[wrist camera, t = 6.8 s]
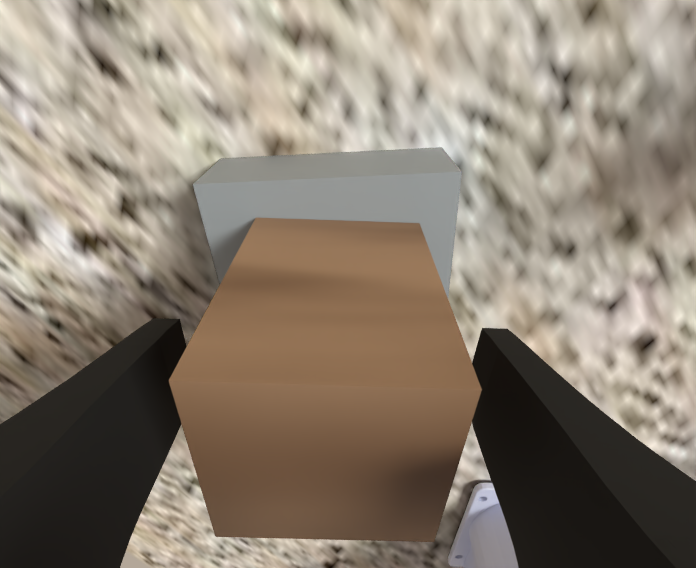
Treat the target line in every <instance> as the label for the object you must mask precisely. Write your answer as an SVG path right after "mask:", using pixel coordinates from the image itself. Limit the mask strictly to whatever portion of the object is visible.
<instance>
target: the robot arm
mask: <svg viewBox="0 0 696 568" xmlns="http://www.w3.org/2000/svg"><path fill="white" fill-rule="evenodd" d="M185 349H186V343H185V339H184V335H183V331H182V327H181V323H180V319H155V318H154V319H152V320H151V321H149V322H148V323H146V324H145V325H143V326H142V327H140V328H139V329H137V330H136V331H135V332H133V333H132V334H131V335H129V336H128V337H126V338H125V339H124V340H122V341H121V342H120V343H118V344H117V345H115V346H114V347H113V348H111V349H110V350H109V351H107V352H106V353H105V354H103V355H102V356H100V357H99V358H98V359H96V360H95V361H93V362H92V363H91V364H89V365H88V366H86V367H85V368H84V369H82V370H81V371H79V372H78V373H77V374H75V375H74V376H73V377H71V378H70V379H68V380H67V381H65V382H64V383H62V384H61V385H59V386H58V387H56V388H55V389H53V390H52V391H50V392H49V393H47V394H46V395H44V396H43V397H41V398H40V399H38V400H37V401H35V402H34V403H32V404H31V405H29V406H28V407H26V408H25V409H23V410H22V411H20V412H19V413H17V414H16V415H14V416H13V417H11V418H10V419H8V420H6V421H5V422H3V423H2V424H0V568H120V566H121V563H122V560H123V557H124V554H125V552H126V549H127V546H128V543H129V540H130V538H131V535H132V533H133V530H134V528H135V525H136V523H137V521H138V518H139V516H140V514H141V511H142V509H143V507H144V505H145V503H146V500H147V498H148V496H149V494H150V492H151V490H152V487H153V485H154V483H155V481H156V479H157V477H158V474H159V472H160V470H161V468H162V466H163V463H164V461H165V459H166V457H167V455H168V453H169V450H170V448H171V446H172V444H173V441H174V439H175V437H176V435H177V433H178V430H179V428H180V426H181V420H180V417H179V414H178V410H177V407H176V404H175V400H174V397H173V394H172V390H171V387H170V384H169V379H170V377H171V375H172V373H173V371H174V370H175V368H176V366H177V364H178V362H179V360H180V358H181V357H182V355H183V353H184V351H185ZM472 365H473V367H474V370H475V373H476V376H477V378H478V381H479V384H480V386H481V389H482V391H481V394H480V397H479V400H478V403H477V407H476V410H475V413H474V416H473V419H472V424H473V428H474V431H475V434H476V437H477V440H478V443H479V446H480V449H481V452H482V455H483V458H484V461H485V463H486V466H487V469H488V472H489V475H490V478H491V481H492V483H479V484H477V485H476V486H475V487H474V489H473V492H472V494H471V497H470V500H469V502H468V505H467V508H466V511H465V513H464V516H463V519H462V521H461V524H460V527H459V529H458V532H457V535H456V537H455V540H454V543H453V545H452V548H451V551H450V553H449V556H448V562H449V565H450V566H453V567H464V568H696V481H695V480H693V479H692V478H690V477H689V476H688V475H686V474H685V473H683V472H682V471H680V470H679V469H678V468H676V467H675V466H673V465H672V464H671V463H669V462H668V461H666V460H665V459H664V458H662V457H661V456H659V455H658V454H656V453H655V452H654V451H652V450H651V449H650V448H648V447H647V446H646V445H644V444H643V443H642V442H640V441H639V440H638V439H636V438H635V437H634V436H632V435H631V434H630V433H629V432H627V431H626V430H625V429H624V428H622V427H621V426H620V425H619V424H617V423H616V422H615V421H614V420H612V419H611V418H610V417H609V416H607V415H606V414H605V413H603V412H602V411H601V410H600V409H599V408H597V407H596V406H595V405H594V404H593V403H591V402H590V401H589V400H588V399H587V398H585V397H584V396H583V395H582V394H581V393H580V392H578V391H577V390H576V389H575V388H574V387H573V386H572V385H570V384H569V383H568V382H567V381H566V380H565V379H564V378H562V377H561V376H560V375H559V374H558V373H557V372H556V371H554V370H553V369H552V368H551V367H550V366H549V365H548V364H547V363H546V362H544V361H543V360H542V359H541V358H540V357H539V356H538V355H537V354H536V353H534V352H533V351H532V350H531V349H530V348H529V347H528V346H527V345H526V344H524V343H523V342H522V341H521V340H520V339H519V338H518V337H517V336H515V335H514V334H513V333H512V332H511V331H509V330H508V329H494V328H482V330H481V334H480V337H479V341H478V345H477V348H476V352H475V355H474V359H473V362H472Z"/></svg>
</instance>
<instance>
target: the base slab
mask: <svg viewBox="0 0 696 568" xmlns="http://www.w3.org/2000/svg"><path fill="white" fill-rule="evenodd" d="M461 174H462V171H461V170H460V169H459V168H458V166H457V165H456V164H455V163H454V162H453V160H452V159H451V158H450V157H449V156H448V154H447V153H446V152H445V151H444V150H443V148H442V147H440V148H420V149H400V150H380V151H360V152H341V153H321V154H301V155H281V156H261V157H241V158H222V159H220V160H219V161H217V162H216V163H215V164H214V165H213V166H212V167H211V168H210V169H209V170H208V171H207V172H206V173H204V174H203V175H202V176H201V177H200V178H199V179H198V180H197V181H196V182H195V183H194V184H193V187H194V191H195V195H196V199H197V202H198V206H199V210H200V213H201V217H202V221H203V225H204V228H205V232H206V236H207V239H208V243H209V247H210V250H211V254H212V258H213V262H214V265H215V269H216V273H217V276H218V280H219V284H221V282H222V280H223V278H224V276H225V274H226V272H227V271H228V269H229V267H230V265H231V263H232V261H233V259H234V258H235V256H236V254H237V252H238V250H239V248H240V246H241V244H242V243H243V241H244V239H245V237H246V235H247V233H248V231H249V229H250V228H251V226H252V224H253V222H254V220H255V218H284V219H314V220H343V221H372V222H402V223H420V226H421V228H422V231H423V234H424V236H425V239H426V242H427V244H428V247H429V250H430V253H431V255H432V258H433V261H434V263H435V266H436V269H437V271H438V274H439V277H440V279H441V282H442V285H443V287H444V290H445V293H446V295H447V298H448V294H449V285H450V276H451V267H452V257H453V248H454V239H455V230H456V220H457V211H458V202H459V193H460V183H461Z"/></svg>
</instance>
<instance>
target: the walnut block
mask: <svg viewBox="0 0 696 568" xmlns="http://www.w3.org/2000/svg"><path fill="white" fill-rule="evenodd" d="M169 384H170V387H171V390H172V394H173V397H174V400H175V404H176V407H177V410H178V414H179V417H180V420H181V424H182V427H183V430H184V434H185V437H186V440H187V444H188V447H189V450H190V453H191V457H192V460H193V463H194V467H195V470H196V473H197V477H198V480H199V483H200V487H201V490H202V493H203V497H204V500H205V503H206V507H207V510H208V513H209V516H210V520H211V523H212V526H213V530H214V533H215V536H216V537H251V538H293V539H335V540H377V541H419V542H434V541H435V538H436V534H437V531H438V528H439V525H440V522H441V518H442V515H443V512H444V509H445V506H446V502H447V499H448V496H449V493H450V490H451V487H452V483H453V480H454V477H455V474H456V471H457V467H458V464H459V461H460V458H461V455H462V451H463V448H464V445H465V442H466V439H467V435H468V432H469V429H470V426H471V423H472V419H473V416H474V413H475V410H476V407H477V403H478V400H479V397H480V394H481V391H482V389H481V386H480V384H479V381H478V378H477V376H476V373H475V370H474V367H473V365H472V362H471V359H470V357H469V354H468V351H467V349H466V346H465V343H464V341H463V338H462V335H461V333H460V330H459V327H458V325H457V322H456V319H455V317H454V314H453V311H452V309H451V306H450V303H449V301H448V298H447V295H446V293H445V290H444V287H443V285H442V282H441V279H440V277H439V274H438V271H437V269H436V266H435V263H434V261H433V258H432V255H431V253H430V250H429V247H428V244H427V242H426V239H425V236H424V234H423V231H422V228H421V226H420V223H402V222H372V221H343V220H314V219H284V218H255V220H254V222H253V224H252V226H251V228H250V229H249V231H248V233H247V235H246V237H245V239H244V241H243V243H242V244H241V246H240V248H239V250H238V252H237V254H236V256H235V258H234V259H233V261H232V263H231V265H230V267H229V269H228V271H227V272H226V274H225V276H224V278H223V280H222V282H221V284H220V286H219V287H218V289H217V291H216V293H215V295H214V297H213V299H212V300H211V302H210V304H209V306H208V308H207V310H206V312H205V314H204V315H203V317H202V319H201V321H200V323H199V325H198V327H197V328H196V330H195V332H194V334H193V336H192V338H191V340H190V342H189V343H188V345H187V347H186V349H185V351H184V353H183V355H182V357H181V358H180V360H179V362H178V364H177V366H176V368H175V370H174V371H173V373H172V375H171V377H170V379H169Z"/></svg>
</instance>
